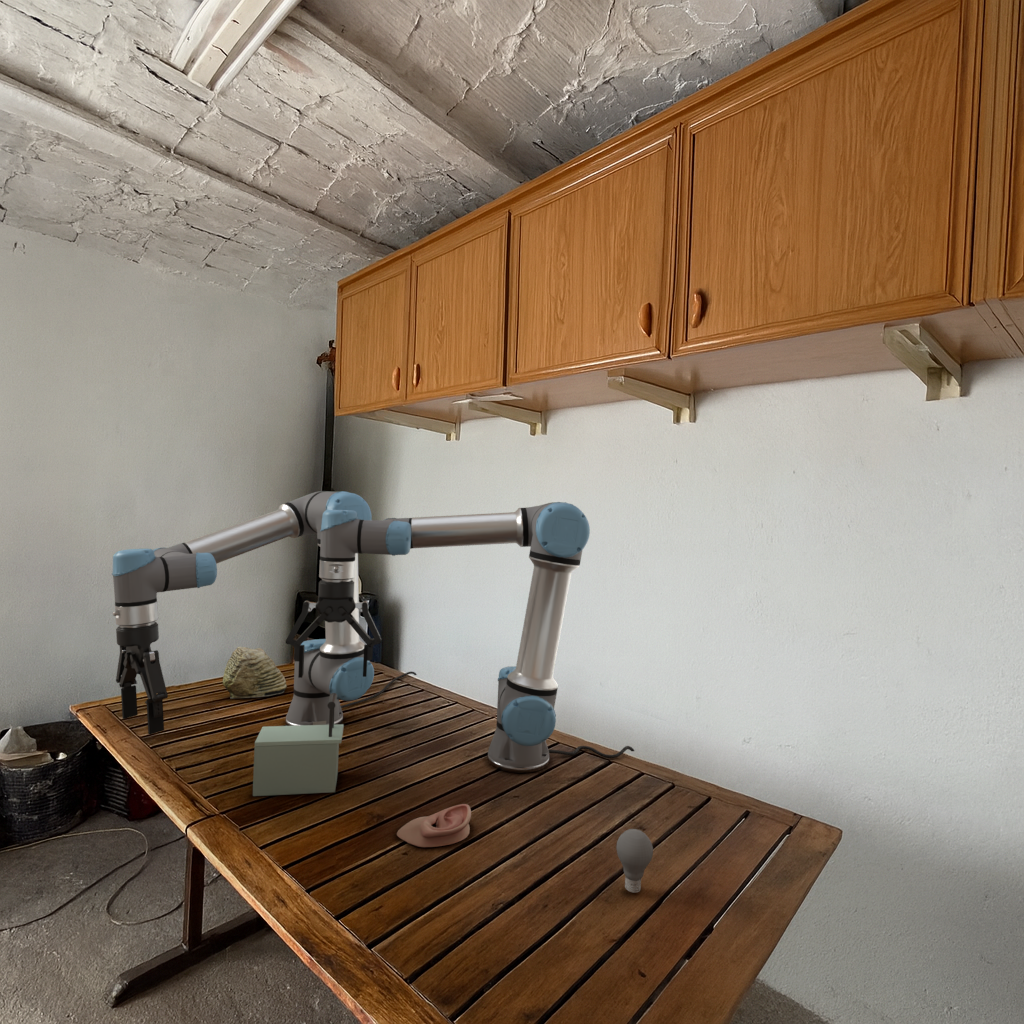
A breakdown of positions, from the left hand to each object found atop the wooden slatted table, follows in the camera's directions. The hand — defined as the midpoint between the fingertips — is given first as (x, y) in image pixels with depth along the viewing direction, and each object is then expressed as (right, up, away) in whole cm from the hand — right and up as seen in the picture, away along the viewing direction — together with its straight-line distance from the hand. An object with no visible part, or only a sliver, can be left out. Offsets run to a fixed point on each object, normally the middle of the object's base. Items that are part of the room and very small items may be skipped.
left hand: (142, 724), depth 132 cm
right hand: (+38, +8, +8) cm, 39 cm away
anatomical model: (+62, -17, -11) cm, 66 cm away
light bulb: (+97, -19, -27) cm, 103 cm away
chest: (+30, -15, +7) cm, 34 cm away
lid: (+31, -5, +7) cm, 32 cm away
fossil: (-3, -13, +66) cm, 67 cm away
